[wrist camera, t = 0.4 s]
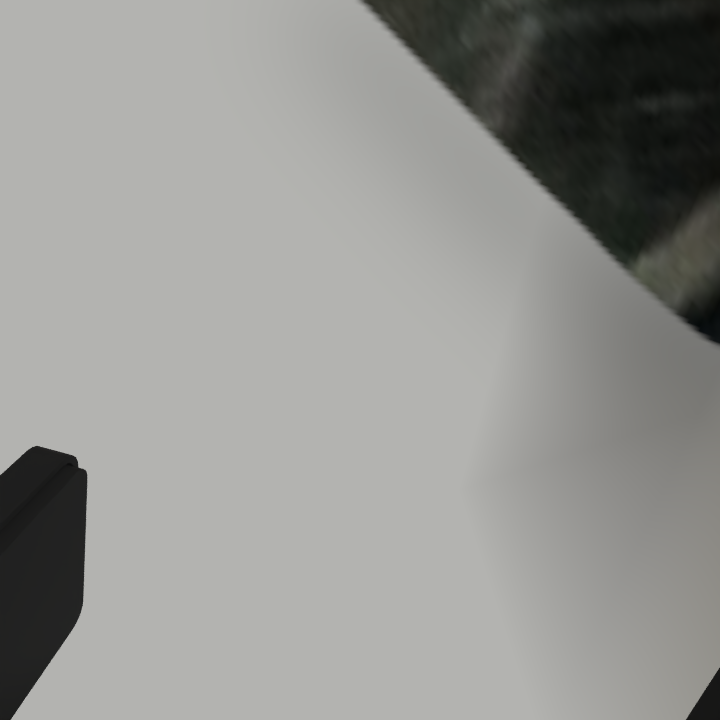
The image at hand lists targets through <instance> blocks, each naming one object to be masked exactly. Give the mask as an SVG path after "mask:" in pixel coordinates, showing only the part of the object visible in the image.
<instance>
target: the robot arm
mask: <svg viewBox="0 0 720 720" xmlns="http://www.w3.org/2000/svg"><path fill="white" fill-rule="evenodd" d="M86 501H87V472H86V470H84V469H81V468H78V461H77V459H76V457H74V456H72V455H69V454H65V453H62V452H58V451H54V450H51V449H47V448H43V447H39V446H35V447H32V448H31V449H29V450H28V451H26V452H25V453H24V454H23V455H22V456H21V457H20V458H19V459H18V460H17V461H15V462H14V463H13V464H12V465H11V466H10V467H9V468H8V469H7V470H6V471H5V472H4V473H2V474H1V475H0V720H11V718H12V717H13V715H14V714H15V712H16V711H17V709H18V708H19V707H20V705H21V704H22V702H23V701H24V699H25V698H26V696H27V695H28V694H29V692H30V690H31V689H32V688H33V686H34V685H35V683H36V682H37V680H38V679H39V677H40V676H41V675H42V673H43V671H44V670H45V669H46V667H47V666H48V664H49V663H50V661H51V660H52V658H53V657H54V656H55V654H56V653H57V651H58V650H59V648H60V647H61V645H62V644H63V642H64V641H65V640H66V638H67V637H68V635H69V634H70V632H71V631H72V629H73V628H74V626H75V624H76V622H77V620H78V618H79V615H80V613H81V609H82V606H83V589H84V587H83V586H84V561H85V532H86V531H85V530H86ZM686 720H720V668H719V670H718V671H717V673H716V674H715V676H714V677H713V679H712V680H711V682H710V683H709V685H708V687H707V688H706V690H705V691H704V693H703V694H702V696H701V697H700V699H699V701H698V702H697V703H696V705H695V707H694V708H693V710H692V711H691V713H690V714H689V716H688V718H687V719H686Z"/></svg>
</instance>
